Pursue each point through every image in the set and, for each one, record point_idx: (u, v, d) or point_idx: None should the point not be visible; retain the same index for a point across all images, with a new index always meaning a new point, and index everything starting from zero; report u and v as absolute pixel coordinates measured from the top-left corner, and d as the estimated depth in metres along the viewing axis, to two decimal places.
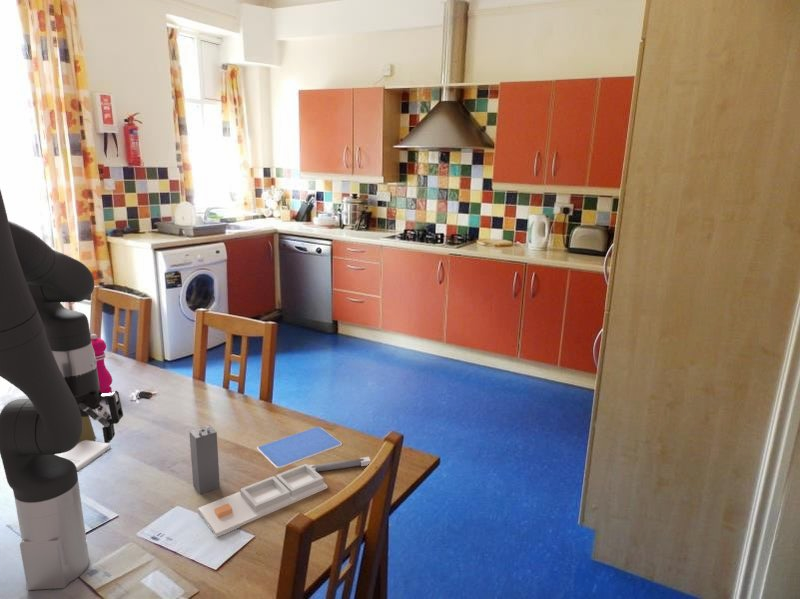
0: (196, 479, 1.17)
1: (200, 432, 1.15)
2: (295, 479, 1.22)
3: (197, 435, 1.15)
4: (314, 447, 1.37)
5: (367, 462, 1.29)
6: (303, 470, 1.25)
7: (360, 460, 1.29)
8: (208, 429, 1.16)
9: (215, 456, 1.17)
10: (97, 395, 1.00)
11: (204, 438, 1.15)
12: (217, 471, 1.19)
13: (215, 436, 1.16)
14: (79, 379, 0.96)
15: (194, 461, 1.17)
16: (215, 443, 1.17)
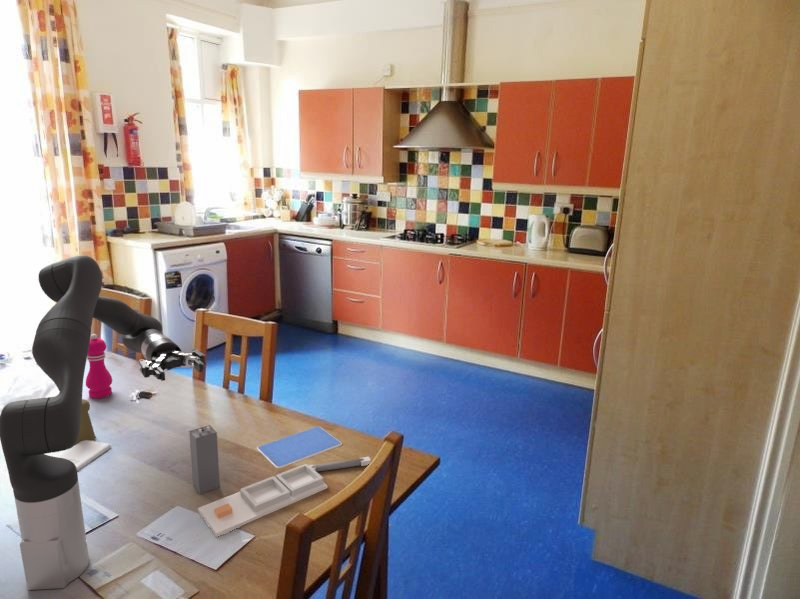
0: (196, 479, 1.17)
1: (200, 432, 1.15)
2: (295, 479, 1.22)
3: (197, 435, 1.15)
4: (314, 447, 1.37)
5: (367, 462, 1.29)
6: (303, 470, 1.25)
7: (360, 460, 1.29)
8: (208, 429, 1.16)
9: (215, 456, 1.17)
10: None
11: (204, 438, 1.15)
12: (217, 471, 1.19)
13: (215, 436, 1.16)
14: (170, 340, 1.33)
15: (194, 461, 1.17)
16: (215, 443, 1.17)
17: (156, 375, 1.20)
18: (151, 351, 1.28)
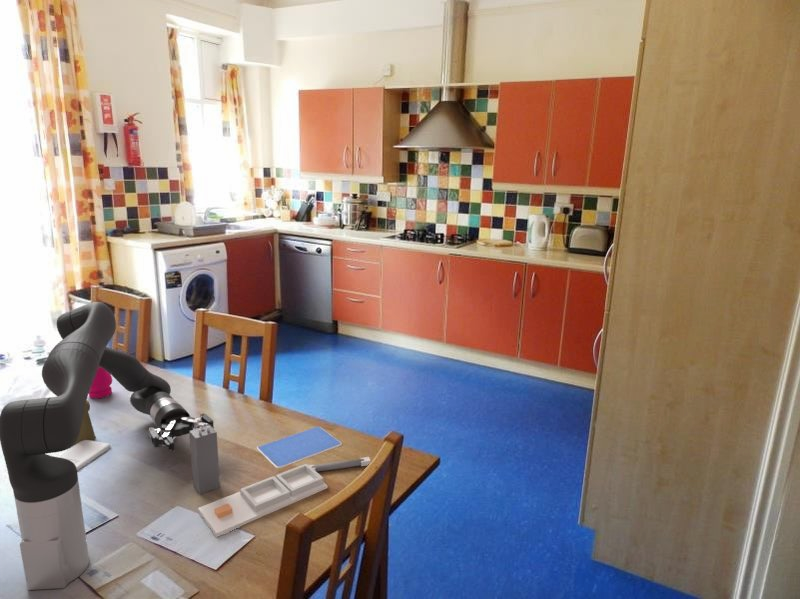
0: (196, 479, 1.17)
1: (200, 432, 1.15)
2: (295, 479, 1.22)
3: (197, 435, 1.15)
4: (314, 447, 1.37)
5: (367, 462, 1.29)
6: (303, 470, 1.25)
7: (360, 460, 1.29)
8: (208, 429, 1.16)
9: (215, 456, 1.17)
10: None
11: (204, 438, 1.15)
12: (217, 471, 1.19)
13: (215, 436, 1.16)
14: (179, 404, 1.35)
15: (194, 461, 1.17)
16: (215, 443, 1.17)
17: (166, 445, 1.21)
18: (160, 418, 1.30)
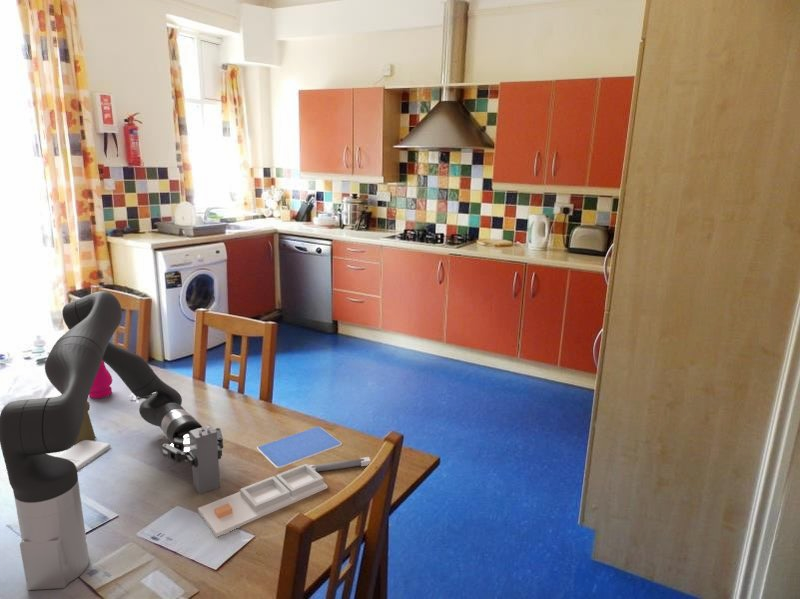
0: (196, 479, 1.17)
1: (200, 432, 1.15)
2: (295, 479, 1.22)
3: (197, 435, 1.15)
4: (314, 447, 1.37)
5: (367, 462, 1.29)
6: (303, 470, 1.25)
7: (360, 460, 1.29)
8: (208, 429, 1.16)
9: (215, 456, 1.17)
10: None
11: (204, 438, 1.15)
12: (217, 471, 1.19)
13: (215, 436, 1.16)
14: (191, 417, 1.29)
15: None
16: (215, 443, 1.17)
17: (189, 461, 1.15)
18: (172, 431, 1.24)
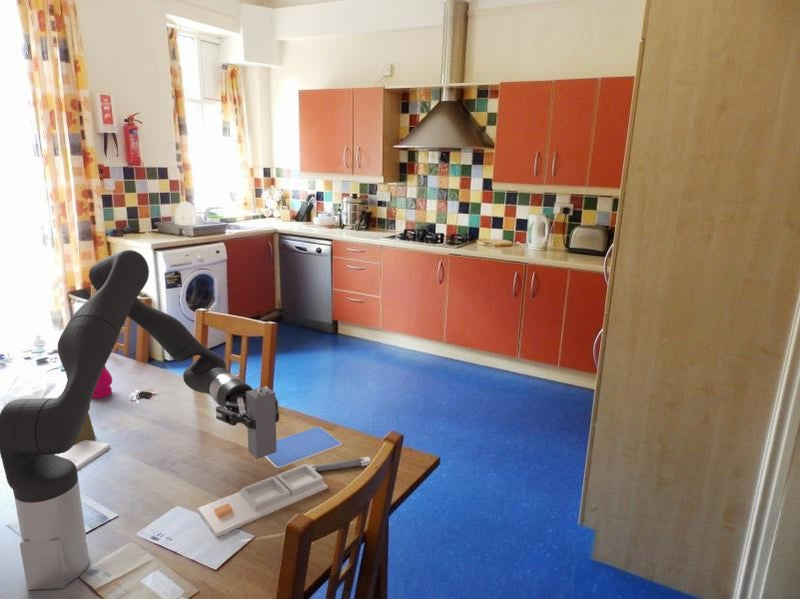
0: (253, 443, 1.10)
1: (258, 392, 1.08)
2: (295, 479, 1.22)
3: (255, 395, 1.08)
4: (314, 447, 1.37)
5: (367, 462, 1.29)
6: (303, 470, 1.25)
7: (360, 460, 1.29)
8: (266, 389, 1.09)
9: (273, 418, 1.11)
10: None
11: (263, 398, 1.08)
12: (274, 435, 1.12)
13: (273, 397, 1.10)
14: None
15: None
16: (273, 404, 1.10)
17: (246, 423, 1.08)
18: (224, 395, 1.17)
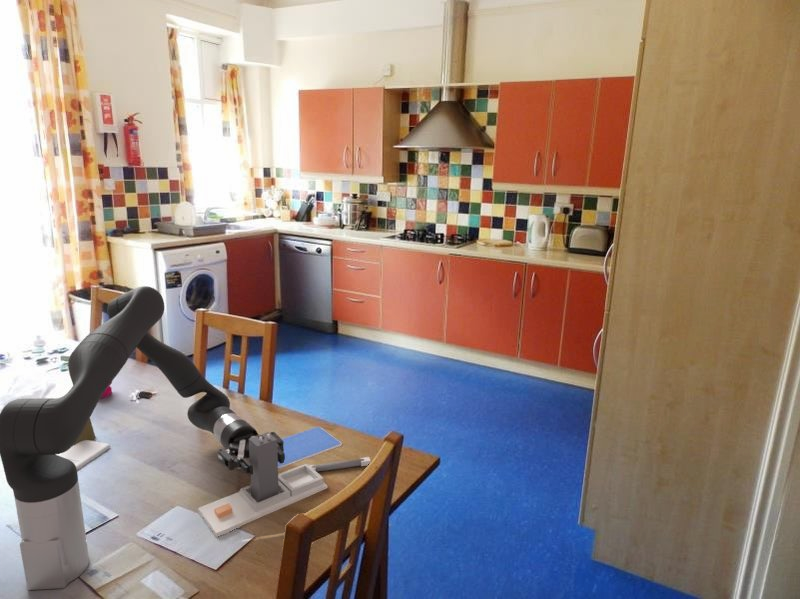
0: (256, 489, 1.13)
1: (261, 440, 1.10)
2: (295, 479, 1.22)
3: (258, 443, 1.10)
4: (314, 447, 1.37)
5: (367, 462, 1.29)
6: (303, 470, 1.25)
7: (360, 460, 1.29)
8: (268, 437, 1.12)
9: (275, 465, 1.13)
10: None
11: (265, 446, 1.10)
12: (276, 480, 1.14)
13: (275, 444, 1.12)
14: (245, 421, 1.24)
15: (254, 470, 1.12)
16: (275, 451, 1.12)
17: (243, 469, 1.10)
18: (228, 437, 1.19)
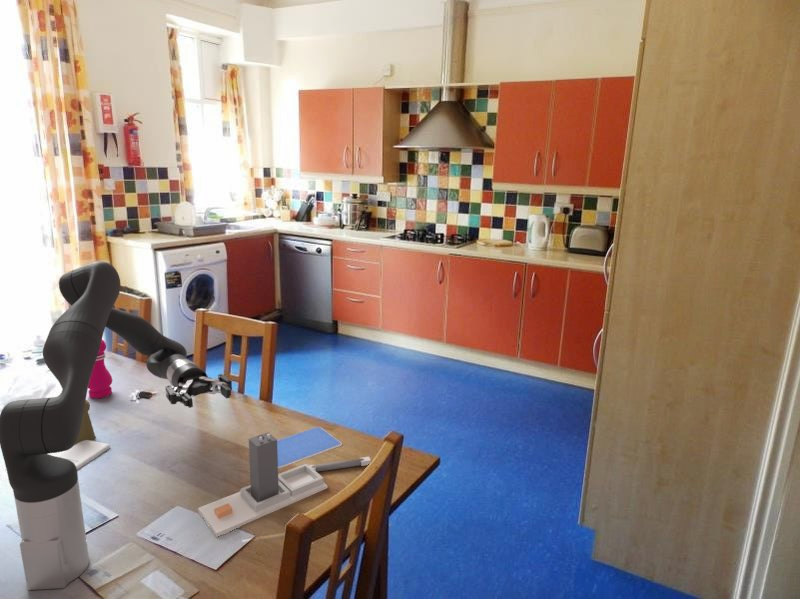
0: (256, 489, 1.13)
1: (261, 440, 1.10)
2: (295, 479, 1.22)
3: (258, 443, 1.10)
4: (314, 447, 1.37)
5: (367, 462, 1.29)
6: (303, 470, 1.25)
7: (360, 460, 1.29)
8: (268, 437, 1.12)
9: (275, 465, 1.13)
10: None
11: (265, 446, 1.10)
12: (276, 480, 1.14)
13: (275, 444, 1.12)
14: (196, 365, 1.31)
15: (254, 470, 1.12)
16: (275, 451, 1.12)
17: (183, 402, 1.17)
18: (177, 377, 1.26)
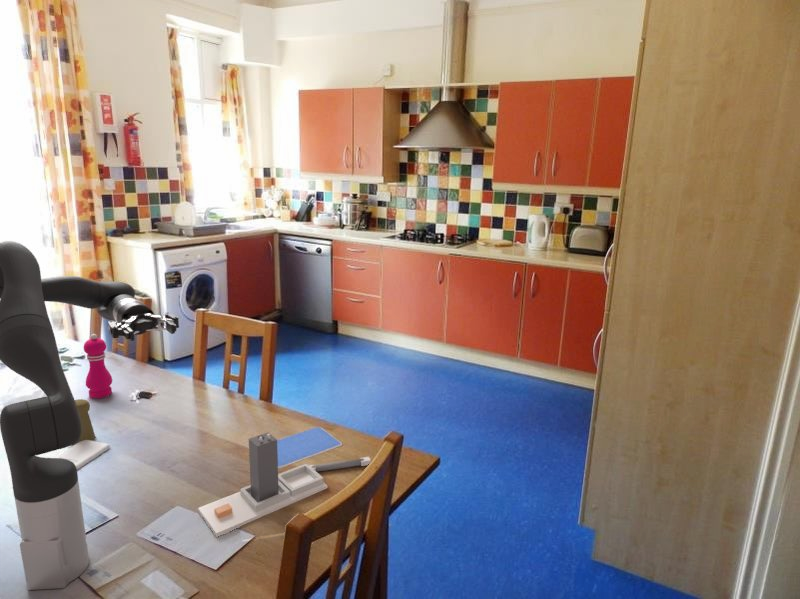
0: (256, 489, 1.13)
1: (261, 440, 1.10)
2: (295, 479, 1.22)
3: (258, 443, 1.10)
4: (314, 447, 1.36)
5: (367, 462, 1.29)
6: (303, 470, 1.25)
7: (360, 460, 1.29)
8: (268, 437, 1.12)
9: (275, 465, 1.13)
10: None
11: (265, 446, 1.10)
12: (276, 480, 1.14)
13: (275, 444, 1.12)
14: (143, 303, 1.27)
15: (254, 470, 1.12)
16: (275, 451, 1.12)
17: (125, 335, 1.14)
18: (122, 313, 1.22)
